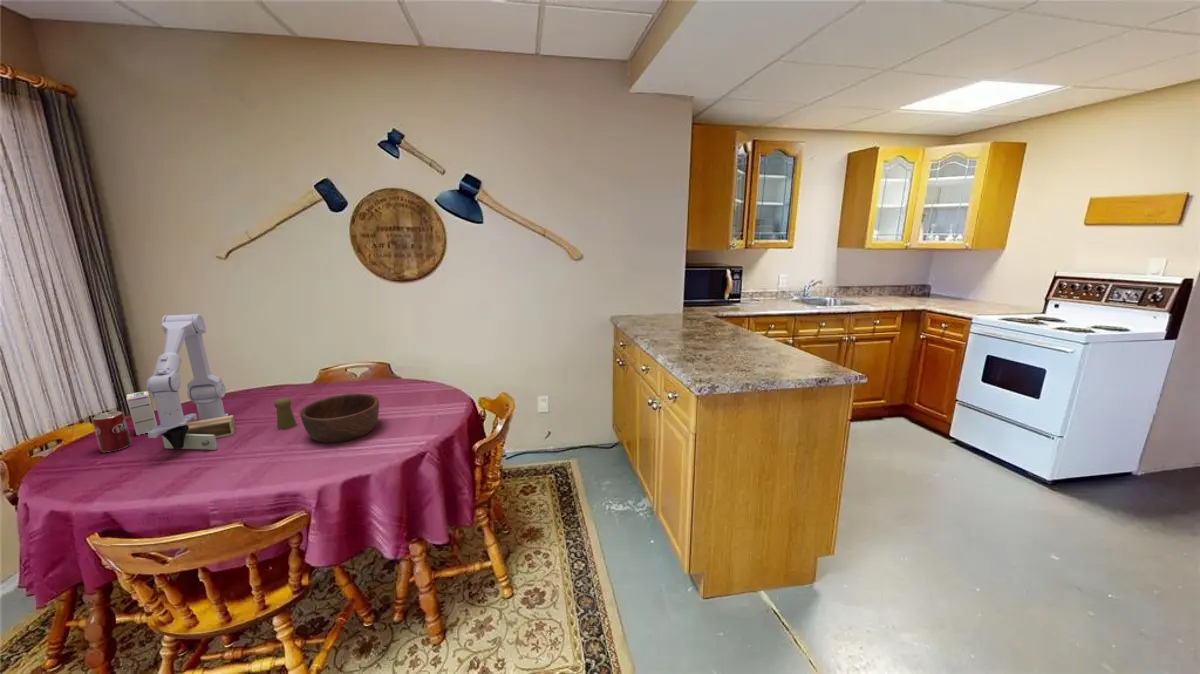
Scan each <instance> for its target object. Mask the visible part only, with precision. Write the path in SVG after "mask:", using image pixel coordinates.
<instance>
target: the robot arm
mask: <svg viewBox="0 0 1200 674" xmlns="http://www.w3.org/2000/svg"><path fill="white" fill-rule="evenodd" d="M205 323H206V322H205V319H204V318H203V316H202V315H200V314H199V313H194V314H193V313H192V314H173V315H172V314H170V315H169V314H166V315H164V316H163V317H162V318H161V320H160V324H161V329H162V331H163V333H164V335H165V340H164V347H163V348H164V349H163V353H162V354H160V355H158V357H157V360H156V363H155V367H154V370H153V374H152V375H151V376H150V377H148V378H147V380H146V391H148V393H149V395H150V396H151V397H150V398H151V399H152V400H154V402H155V408H156V410H157V411H156V412H157V415H158V419H159V423H160V424H158V425H157V427H156V428H154V429H153V430H151V431H149V432H147V433H148V434H147V436H148V438H149V439H156V438H157V437H158V436H160V435H161V436H162V435H163V436H164V437H165V438H166V439H167V440H168V441H169V442H170V443H171V445H172V446H173V448H172V449H174V450H182V449H181V448H183V447H184V439H185V435H186V433H187V430H188V429H189V426H188V425H185V424H187V423H188V422H192V421H197V420H198V418H199V421H200V420H206V419H212V418H218V417H224V416H229V413H226V412H225V409H224V404H223V400H222V399H223V398H224V397H225V394H226V386H225V384H224V382H223V380H222V377H220V376H217V375H214V374H211V369H210V364H209V360H208V356H207V352H206V347H205V343H204V338H203V334H206V332H207V329H206V324H205ZM183 344H185V347H186V351H187V355H188V360H189V363H190V367H191V372H192V376H193V378H191V379H190V380H189V381H188V382H187V384H186V387H187V392H186V393H187V397H188V398H187V399H188V400H190V401H191V402H193V404H196V409H197V412H198V417H197V414H196V413H189V414H185V415H184V412H183V411H184V410H183V407H182V403H181V399H180V394H179V389H180V387H181V374H180V373H179V372H180V369H181V364H182V359H183V358H182V357H181V356H179V355H180V352H181V349H182V347H183Z"/></svg>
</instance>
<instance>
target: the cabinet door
mask: <svg viewBox="0 0 1200 674" xmlns="http://www.w3.org/2000/svg"><path fill="white" fill-rule="evenodd" d="M161 437H162V442H163V445H164V448H165V449H174V448H173V446H172V445H171V443H170V442H169V441H168V440H167V439H166V438H165V437H164V436H163V435H161ZM217 444H218V443H217V438H215V435H207V434H186V435H185V439H184V447H183V448H181V449H180V450H183V449H186V450H211V451H212V450H213V451H214V450H217V449H218V445H217Z"/></svg>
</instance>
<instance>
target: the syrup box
mask: <svg viewBox="0 0 1200 674" xmlns="http://www.w3.org/2000/svg"><path fill="white" fill-rule="evenodd" d="M126 402H127V405H128V409H129V410H128V411H129V413H130V417H131V420H132V424H133V428H134V431H135V434H136V436H137V435H138V436H141V435H140V434H144V435H146V434H145V433H147V432H149V431H151V430H153V429H154V428H156V427H157V426H158V422H157V420H156V415H155V411H154V407H153V404H152V401H151V397H150V393H149V392H148V390H145V391H138V392H133V393H130V394H129V393H128V394H126Z"/></svg>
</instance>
